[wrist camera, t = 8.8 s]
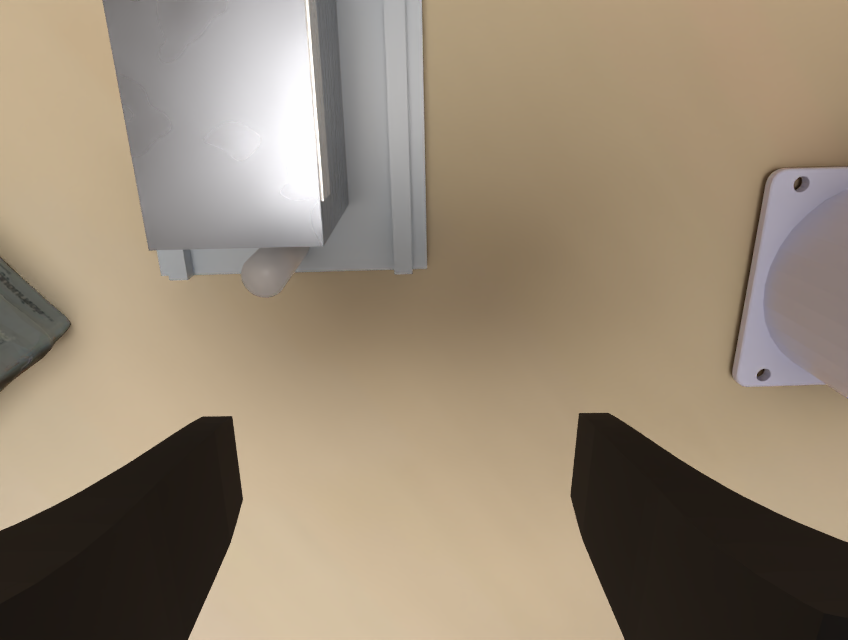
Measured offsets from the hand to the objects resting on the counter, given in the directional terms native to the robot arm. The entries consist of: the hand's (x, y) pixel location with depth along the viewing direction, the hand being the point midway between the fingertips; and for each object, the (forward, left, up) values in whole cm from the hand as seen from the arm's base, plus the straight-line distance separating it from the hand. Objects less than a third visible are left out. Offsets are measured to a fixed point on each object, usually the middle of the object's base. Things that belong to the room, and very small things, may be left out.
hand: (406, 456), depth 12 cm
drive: (+4, -8, -9) cm, 13 cm away
